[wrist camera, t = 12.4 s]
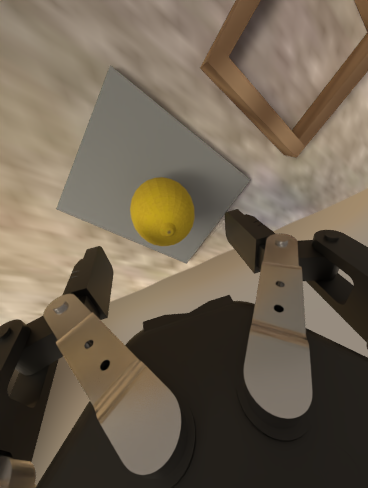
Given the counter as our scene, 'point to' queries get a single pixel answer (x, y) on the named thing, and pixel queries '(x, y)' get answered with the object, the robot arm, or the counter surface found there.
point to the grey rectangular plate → (144, 167)
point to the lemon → (162, 211)
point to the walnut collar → (256, 106)
